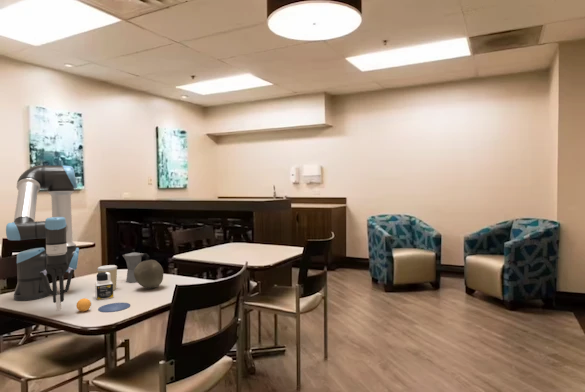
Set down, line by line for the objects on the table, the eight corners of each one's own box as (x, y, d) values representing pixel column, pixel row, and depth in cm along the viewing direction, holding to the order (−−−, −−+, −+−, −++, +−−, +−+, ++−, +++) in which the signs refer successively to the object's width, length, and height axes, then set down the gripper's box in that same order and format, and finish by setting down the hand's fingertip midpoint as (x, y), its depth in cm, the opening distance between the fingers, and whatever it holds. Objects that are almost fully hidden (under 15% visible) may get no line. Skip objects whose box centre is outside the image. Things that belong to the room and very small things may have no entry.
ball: (75, 314, 167) (75, 301, 167) (77, 310, 172) (77, 297, 172) (90, 312, 169) (90, 299, 169) (91, 308, 174) (91, 296, 174)
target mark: (97, 313, 167) (97, 313, 167) (99, 305, 179) (99, 304, 179) (130, 309, 172) (130, 309, 172) (130, 301, 184) (130, 301, 184)
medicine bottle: (97, 300, 187) (96, 275, 186) (95, 296, 193) (94, 272, 193) (113, 297, 191) (112, 273, 190) (111, 294, 197) (110, 270, 196)
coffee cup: (121, 287, 210) (120, 264, 210) (111, 292, 201) (110, 268, 201) (104, 287, 211) (103, 264, 211) (94, 292, 202) (93, 268, 201)
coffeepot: (119, 283, 220) (118, 250, 219) (126, 279, 229) (125, 248, 229) (146, 282, 219) (145, 250, 219) (153, 278, 229) (152, 247, 228)
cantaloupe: (149, 284, 216) (149, 256, 215) (169, 286, 210) (168, 258, 209) (128, 290, 203) (128, 261, 203) (149, 293, 197) (148, 263, 196)
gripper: (36, 256, 160) (39, 314, 161) (73, 254, 165) (75, 310, 166) (40, 253, 167) (42, 309, 168) (75, 251, 172) (77, 305, 173)
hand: (58, 309), depth 167 cm, fingers closed
